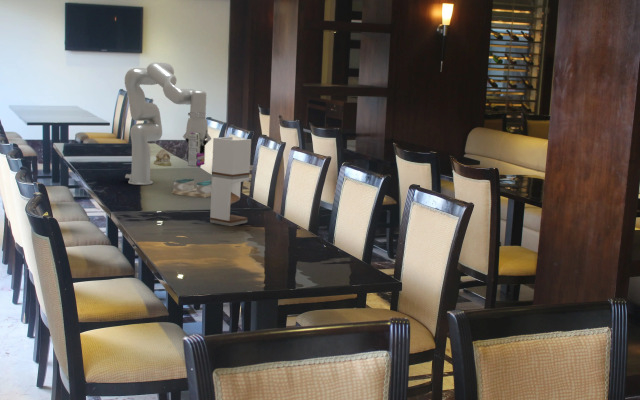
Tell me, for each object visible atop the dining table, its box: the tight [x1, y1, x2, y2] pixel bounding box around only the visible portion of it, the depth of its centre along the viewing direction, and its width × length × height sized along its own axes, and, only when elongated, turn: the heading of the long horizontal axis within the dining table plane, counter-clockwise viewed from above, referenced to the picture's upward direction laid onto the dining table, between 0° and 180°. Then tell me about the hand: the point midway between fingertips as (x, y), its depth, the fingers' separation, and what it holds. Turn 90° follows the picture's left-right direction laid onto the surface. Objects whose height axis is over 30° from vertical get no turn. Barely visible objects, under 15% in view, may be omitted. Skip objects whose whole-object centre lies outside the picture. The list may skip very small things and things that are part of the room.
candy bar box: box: [187, 133, 206, 168], centre depth 396 cm, size 11×5×16 cm, turn 168°
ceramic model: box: [153, 148, 172, 167], centre depth 503 cm, size 14×11×10 cm
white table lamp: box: [209, 136, 252, 227], centre depth 331 cm, size 11×11×35 cm
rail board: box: [171, 177, 212, 199], centre depth 399 cm, size 18×14×6 cm
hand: (196, 152), depth 396 cm, fingers closed on candy bar box, 5 cm apart
